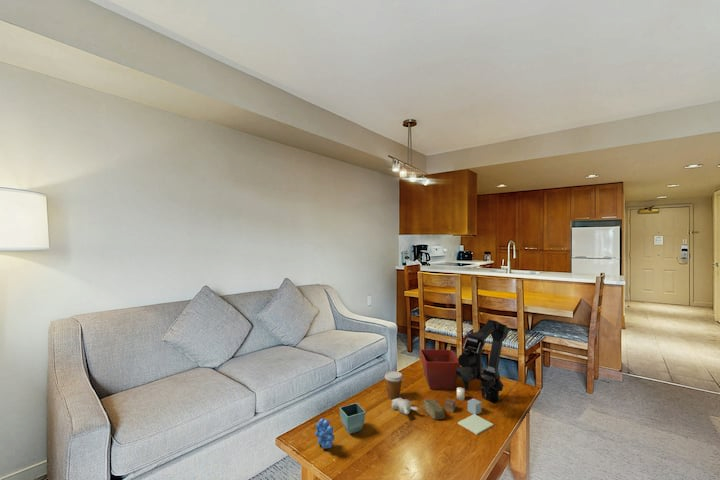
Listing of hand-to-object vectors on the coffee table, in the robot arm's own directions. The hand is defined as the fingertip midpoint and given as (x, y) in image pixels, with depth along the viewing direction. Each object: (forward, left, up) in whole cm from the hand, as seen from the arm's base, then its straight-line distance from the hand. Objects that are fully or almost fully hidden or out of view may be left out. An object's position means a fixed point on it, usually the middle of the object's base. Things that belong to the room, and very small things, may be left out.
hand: (474, 393), depth 157 cm
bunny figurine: (+28, -20, -9) cm, 35 cm away
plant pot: (-8, -29, -9) cm, 31 cm away
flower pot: (+57, -21, -9) cm, 61 cm away
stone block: (+18, -10, -9) cm, 22 cm away
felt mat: (+9, +7, -9) cm, 14 cm away
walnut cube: (+8, -8, -9) cm, 14 cm away
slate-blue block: (0, 0, -9) cm, 9 cm away
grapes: (+72, -17, -9) cm, 75 cm away
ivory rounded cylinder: (-5, -12, -9) cm, 16 cm away
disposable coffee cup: (+23, -33, -9) cm, 41 cm away
